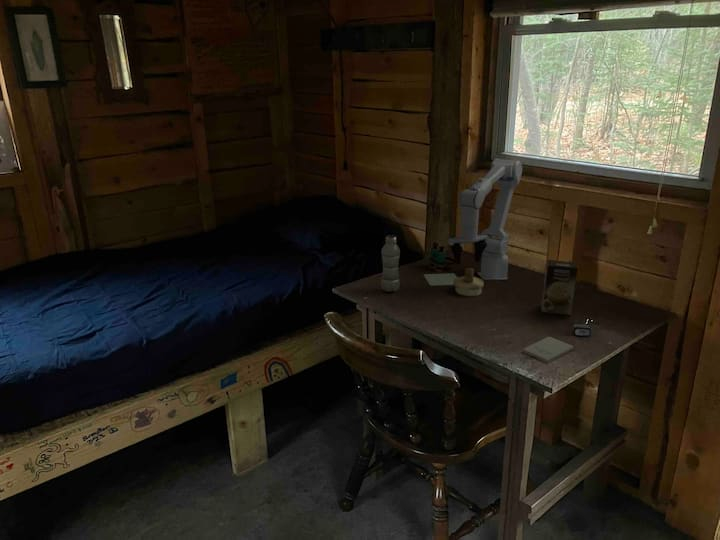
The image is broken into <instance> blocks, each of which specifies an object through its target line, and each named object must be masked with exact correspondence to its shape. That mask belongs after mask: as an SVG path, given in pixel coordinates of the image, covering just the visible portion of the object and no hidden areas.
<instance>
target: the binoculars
mask: <svg viewBox="0 0 720 540" xmlns="http://www.w3.org/2000/svg"><path fill="white" fill-rule="evenodd" d="M444 250H445V246H439V243H438V242H434V241H433V242H432V247H431V249H430V254H429V259H428V260H429V265H428V268H429V269H434V271H435V272H437V273H439V272H440V273H441V272H442V271H447V272H448V271H452V269H453V267H451V265H453V266H454V265H456V263H455V258H452V257H449V256H446V255H447V254H446V252H447V251H444ZM448 265H450V266H448Z"/></svg>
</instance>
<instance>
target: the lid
mask: <svg viewBox="0 0 720 540" xmlns="http://www.w3.org/2000/svg"><path fill="white" fill-rule="evenodd" d="M474 271H475V269H474V268H473V267H466V268H464V275H463V276H457V278H455V279H454V282H453V284H454V285H453V286H454V287H455V288H456V287H457V288H460V289H465V290H477V289H480V288H482V289H483V288H484V283H485V281H484V279H482V278H479V277H476V276H474Z"/></svg>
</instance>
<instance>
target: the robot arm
mask: <svg viewBox="0 0 720 540" xmlns="http://www.w3.org/2000/svg"><path fill="white" fill-rule="evenodd" d="M522 173H523V165H522V162H521V161H520V160H512V159H503V158H502V159H500V158H497V157H496V158H495V159H494V160H493V161H492V162H491V165H490V170H489V171H488V172H487V174H486V175H485V176H484V177H479V178H478V179H477V181H476V182H474V183H473V184H472V186H470V187H469V189H464V190H462V191H461V193H460V195H459V198H458V203H459V206H460V207H459V208H460V212H461V219H460V220H461V222H460V235H459V236H455V237H451V238H448V245H449V247H450V249H451V251H452V254H453V259H454V260H455V265H458V266H459V265H461V255H462V251H463V249H464V248H463V247H462V244H463V245H464V244H471V243H473V244H474V245H473V247H474V254H473V255H474V261H475V263H480V260H481V265H480V266H481V267H480V271H479V272H477V274H478V275H479V277H480V279H481V280H483V281H484V280H497V281H501V280H502V281H503V280H508V279H509V278H508V270H509V257H508V255H507V254H506V253H507V252H508V247H509V236H508V234H507V233H506V232H505V231H504V229H505V225H506V220H507V218H508V214H509V213H508V212H509V210H510V206H511V202H512V198H513V195H514V190H515V188H516V187H517V186H519V184H520V181H521V177H522ZM494 183H497V184H499V186H500V188H499V192H498V194H497V198H496V202H495V206H494V209H493V213H492V214H493V215H492V218H491V220H490V225H489V227H488V228H486V229H484V230H483V231H482V232H481V234H478V231H479V230H478V229H479V218H480V217H479V216H480V215H479V214H480V208H481V207H482V205H483V204H484V201H485V198H486V196H488V194H489V193H490V192H491V191H492V189H493V184H494Z"/></svg>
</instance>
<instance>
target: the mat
mask: <svg viewBox="0 0 720 540" xmlns="http://www.w3.org/2000/svg"><path fill="white" fill-rule="evenodd" d="M422 276H424V278H425V280H426V281H427V283H428V284H429V286H431V287H433V286H454V284H453V282H454V279H455V278H457V277H458V276H457V275H456V274H455V273H454V272H452V273H425V274H423V275H422Z"/></svg>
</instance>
